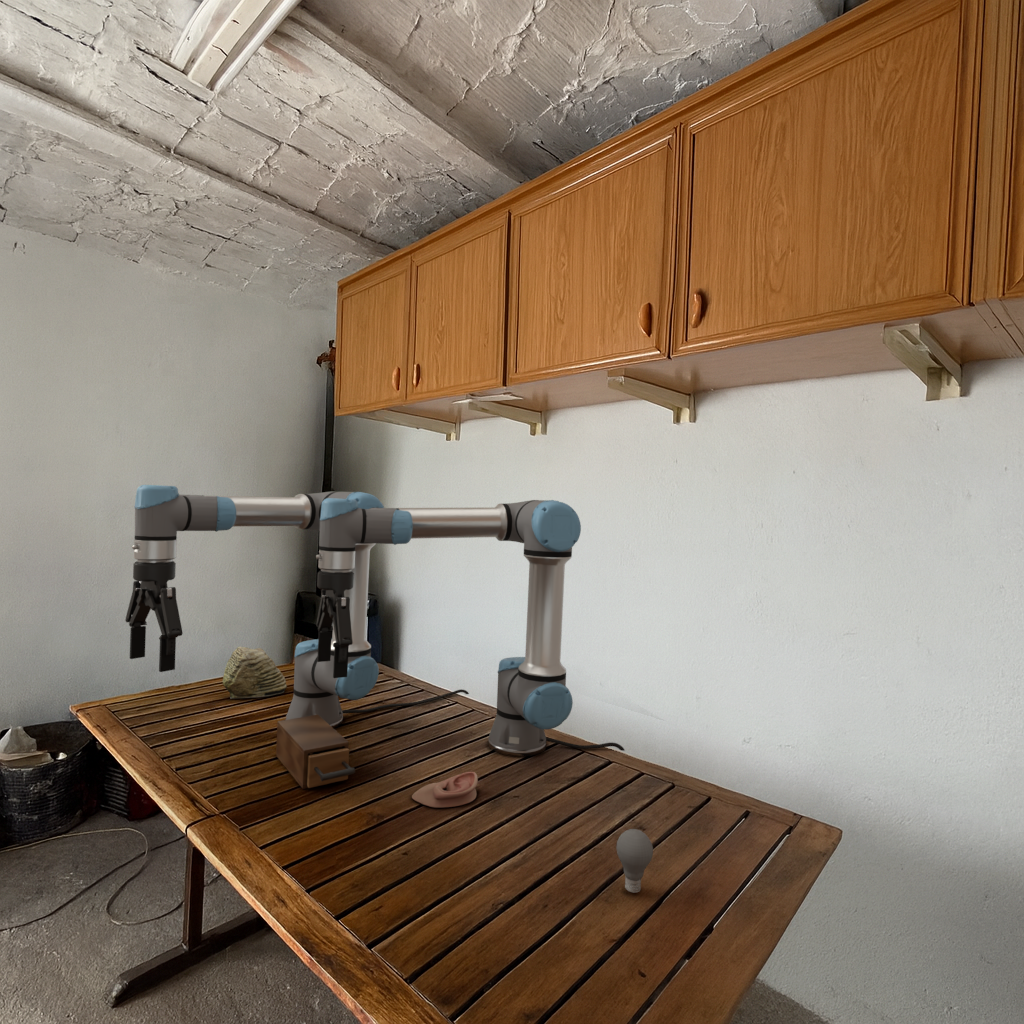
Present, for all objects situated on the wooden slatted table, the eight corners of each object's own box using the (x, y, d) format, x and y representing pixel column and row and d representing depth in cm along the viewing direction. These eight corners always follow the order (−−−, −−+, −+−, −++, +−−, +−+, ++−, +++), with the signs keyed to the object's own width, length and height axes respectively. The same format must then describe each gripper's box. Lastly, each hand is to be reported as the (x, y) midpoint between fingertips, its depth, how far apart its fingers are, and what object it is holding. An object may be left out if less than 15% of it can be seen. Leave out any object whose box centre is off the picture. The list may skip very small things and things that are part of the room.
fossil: (218, 695, 195) (220, 647, 195) (278, 685, 208) (279, 640, 207) (228, 703, 189) (230, 653, 188) (289, 692, 201) (290, 645, 201)
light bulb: (610, 879, 108) (613, 822, 108) (644, 879, 109) (647, 822, 109) (619, 902, 102) (622, 840, 102) (655, 901, 103) (658, 840, 103)
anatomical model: (407, 784, 132) (425, 763, 143) (406, 803, 132) (424, 780, 143) (468, 793, 129) (482, 770, 140) (467, 812, 129) (481, 788, 141)
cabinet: (347, 779, 143) (348, 741, 142) (302, 789, 137) (304, 750, 137) (316, 747, 159) (318, 714, 159) (276, 755, 153) (277, 721, 153)
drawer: (358, 789, 136) (359, 758, 136) (317, 799, 131) (318, 767, 131) (318, 749, 156) (319, 722, 156) (282, 756, 151) (283, 728, 151)
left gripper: (109, 555, 134) (106, 655, 134) (163, 567, 119) (160, 680, 119) (147, 554, 140) (144, 650, 140) (203, 565, 125) (199, 672, 125)
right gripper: (305, 563, 144) (301, 656, 145) (333, 578, 123) (328, 686, 123) (338, 563, 148) (334, 653, 149) (371, 577, 127) (366, 682, 127)
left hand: (151, 664), depth 130 cm, fingers open, 13 cm apart
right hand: (331, 668), depth 136 cm, fingers open, 13 cm apart
